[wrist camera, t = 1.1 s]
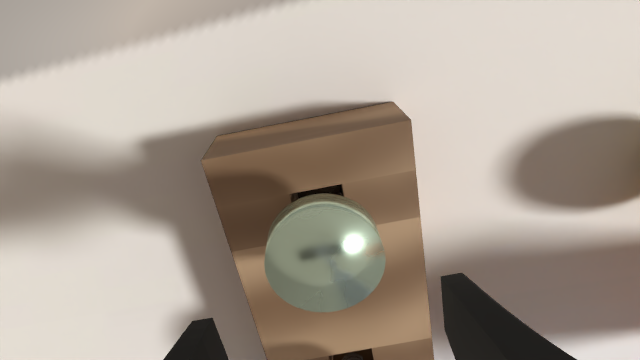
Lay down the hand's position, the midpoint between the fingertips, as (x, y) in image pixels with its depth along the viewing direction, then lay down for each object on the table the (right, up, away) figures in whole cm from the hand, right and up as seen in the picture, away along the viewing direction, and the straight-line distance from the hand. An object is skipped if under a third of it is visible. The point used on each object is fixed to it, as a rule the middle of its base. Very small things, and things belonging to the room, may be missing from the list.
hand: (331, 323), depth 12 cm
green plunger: (0, +3, +7) cm, 7 cm away
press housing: (0, 0, +12) cm, 12 cm away
